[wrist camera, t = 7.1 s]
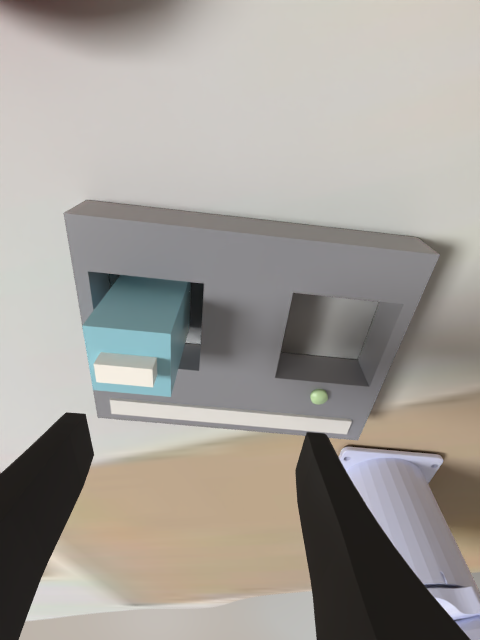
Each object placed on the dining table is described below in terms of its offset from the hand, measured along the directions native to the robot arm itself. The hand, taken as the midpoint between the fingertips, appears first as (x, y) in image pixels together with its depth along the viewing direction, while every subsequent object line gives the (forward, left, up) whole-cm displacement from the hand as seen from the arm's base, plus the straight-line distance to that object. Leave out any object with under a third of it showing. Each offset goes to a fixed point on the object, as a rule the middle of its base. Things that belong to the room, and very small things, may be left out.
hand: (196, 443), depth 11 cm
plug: (0, +3, -10) cm, 11 cm away
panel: (-2, -1, -10) cm, 10 cm away
